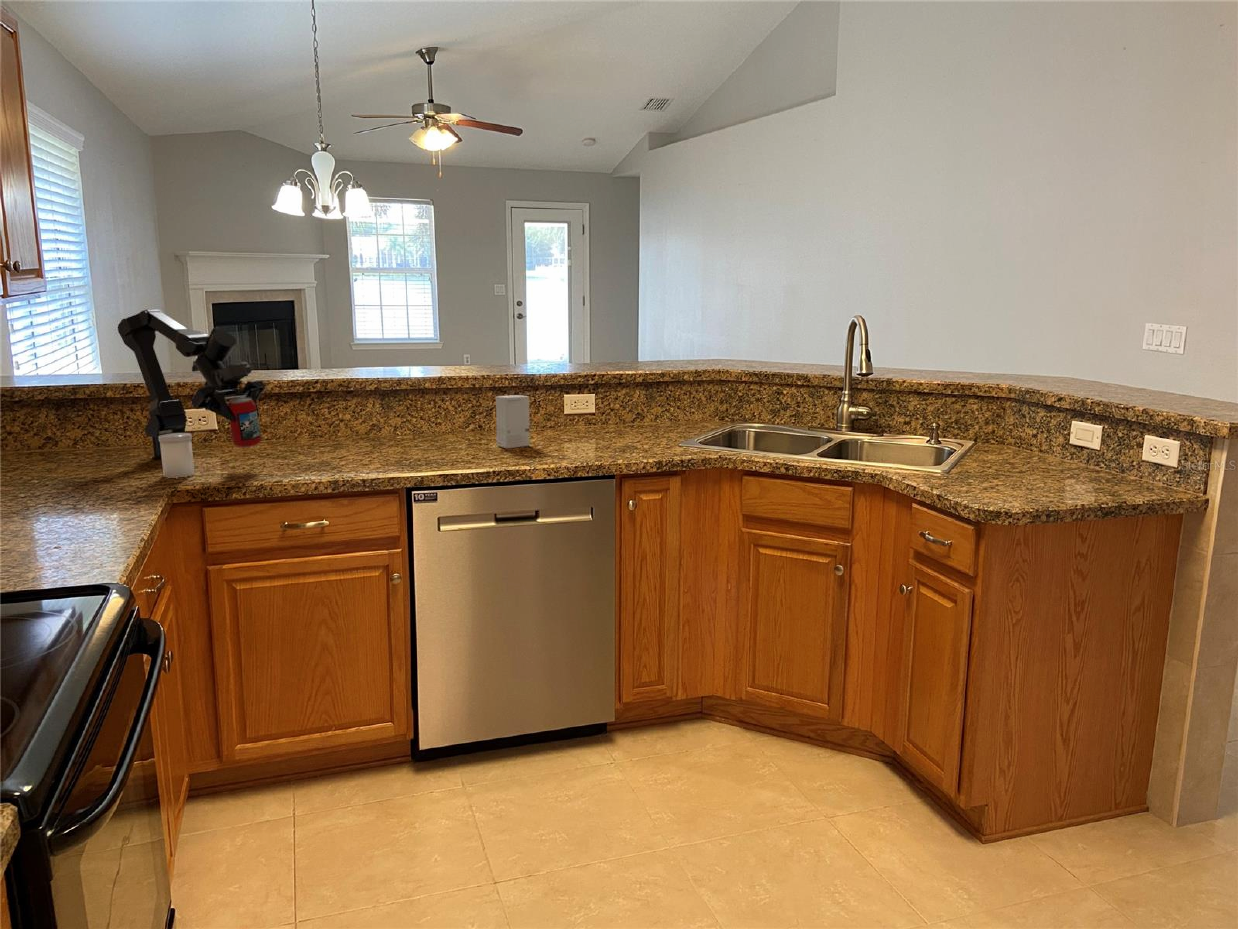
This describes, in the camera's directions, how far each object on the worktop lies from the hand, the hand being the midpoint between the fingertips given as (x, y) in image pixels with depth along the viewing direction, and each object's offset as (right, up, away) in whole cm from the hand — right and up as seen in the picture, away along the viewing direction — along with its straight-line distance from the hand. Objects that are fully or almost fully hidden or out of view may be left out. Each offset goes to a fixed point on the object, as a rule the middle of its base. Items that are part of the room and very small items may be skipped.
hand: (246, 419), depth 229 cm
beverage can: (-1, -7, +3) cm, 7 cm away
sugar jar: (-15, -14, -4) cm, 21 cm away
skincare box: (+64, -6, +35) cm, 73 cm away
